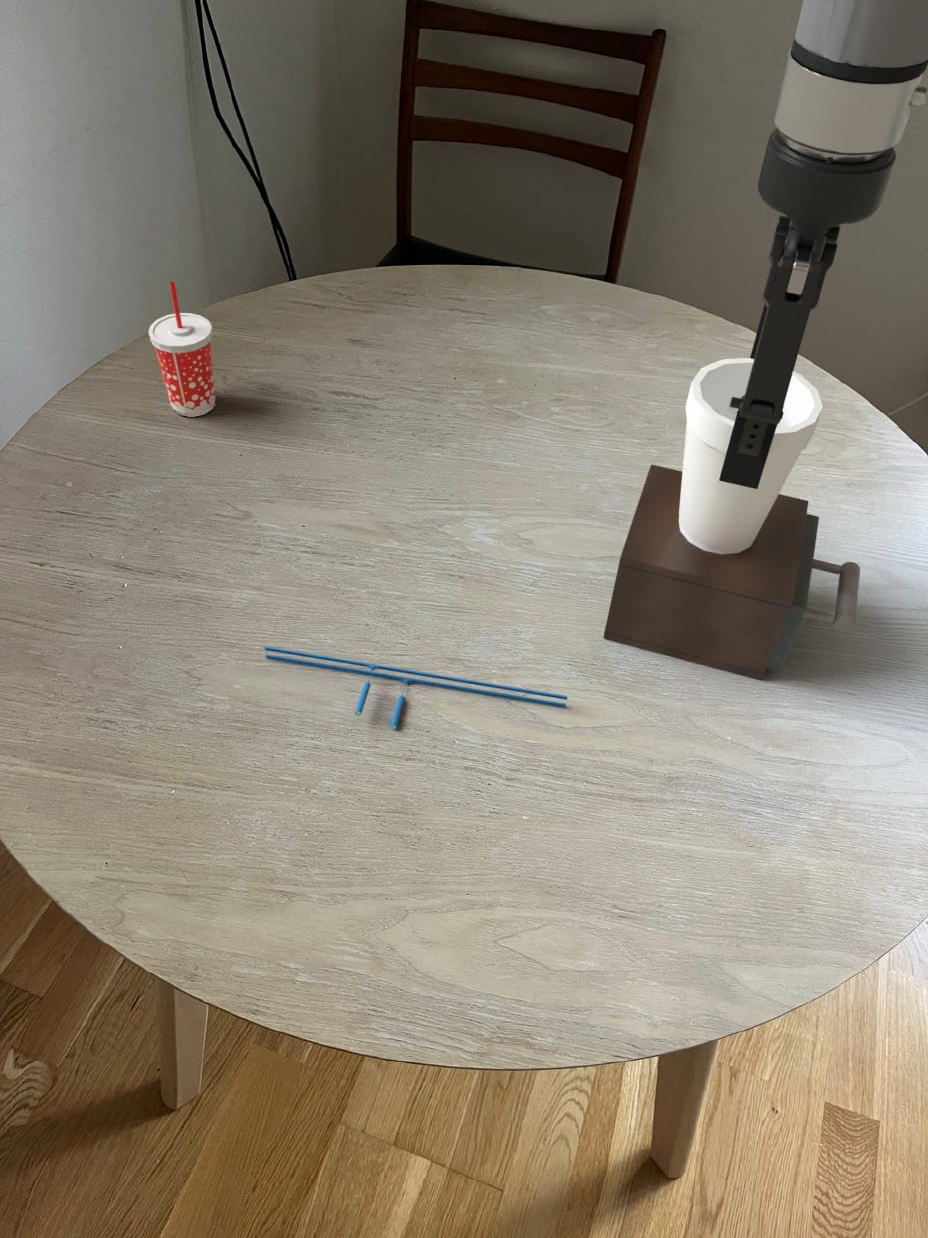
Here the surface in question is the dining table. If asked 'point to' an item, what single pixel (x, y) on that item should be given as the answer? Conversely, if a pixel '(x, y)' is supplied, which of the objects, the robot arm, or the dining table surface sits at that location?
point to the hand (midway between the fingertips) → (751, 427)
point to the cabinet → (704, 584)
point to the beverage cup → (185, 358)
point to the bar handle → (410, 681)
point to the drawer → (845, 593)
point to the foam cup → (707, 504)
